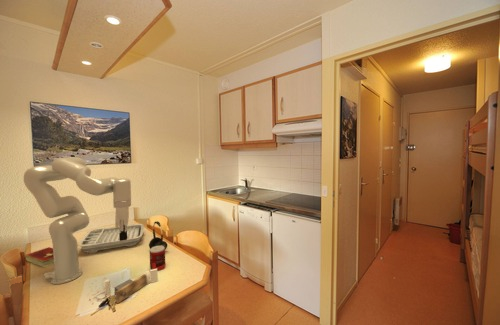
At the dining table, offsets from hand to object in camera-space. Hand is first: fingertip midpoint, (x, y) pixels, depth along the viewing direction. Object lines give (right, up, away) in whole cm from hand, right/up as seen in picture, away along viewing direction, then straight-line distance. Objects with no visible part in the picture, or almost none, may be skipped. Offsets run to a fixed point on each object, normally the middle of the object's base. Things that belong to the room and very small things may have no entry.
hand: (123, 239), depth 106 cm
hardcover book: (-61, -21, +23) cm, 69 cm away
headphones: (+4, -20, +31) cm, 37 cm away
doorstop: (+6, -22, -9) cm, 24 cm away
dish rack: (-33, -20, +45) cm, 59 cm away
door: (+10, -21, -10) cm, 25 cm away
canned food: (+12, -20, +12) cm, 27 cm away
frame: (+7, -21, -5) cm, 23 cm away
